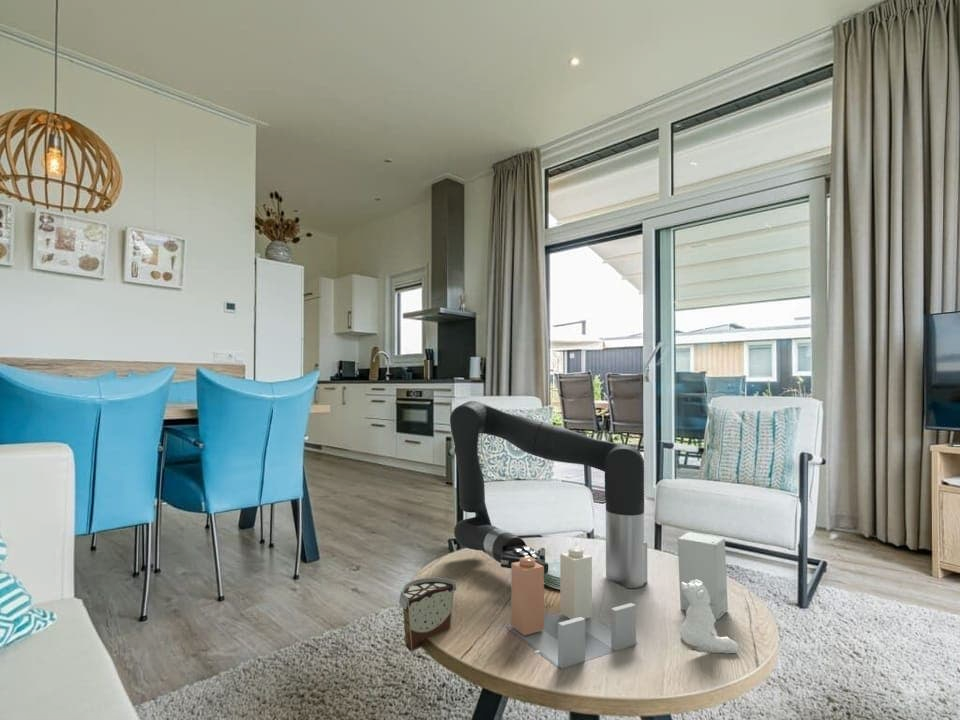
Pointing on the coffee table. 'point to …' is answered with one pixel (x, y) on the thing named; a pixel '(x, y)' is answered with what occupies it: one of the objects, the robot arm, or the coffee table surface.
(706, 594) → the sitting furry creature
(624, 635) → the grey holder stand
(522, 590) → the terracotta plug
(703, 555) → the skincare box
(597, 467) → the robot arm
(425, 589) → the food container
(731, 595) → the coffee table surface
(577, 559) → the cream plug
